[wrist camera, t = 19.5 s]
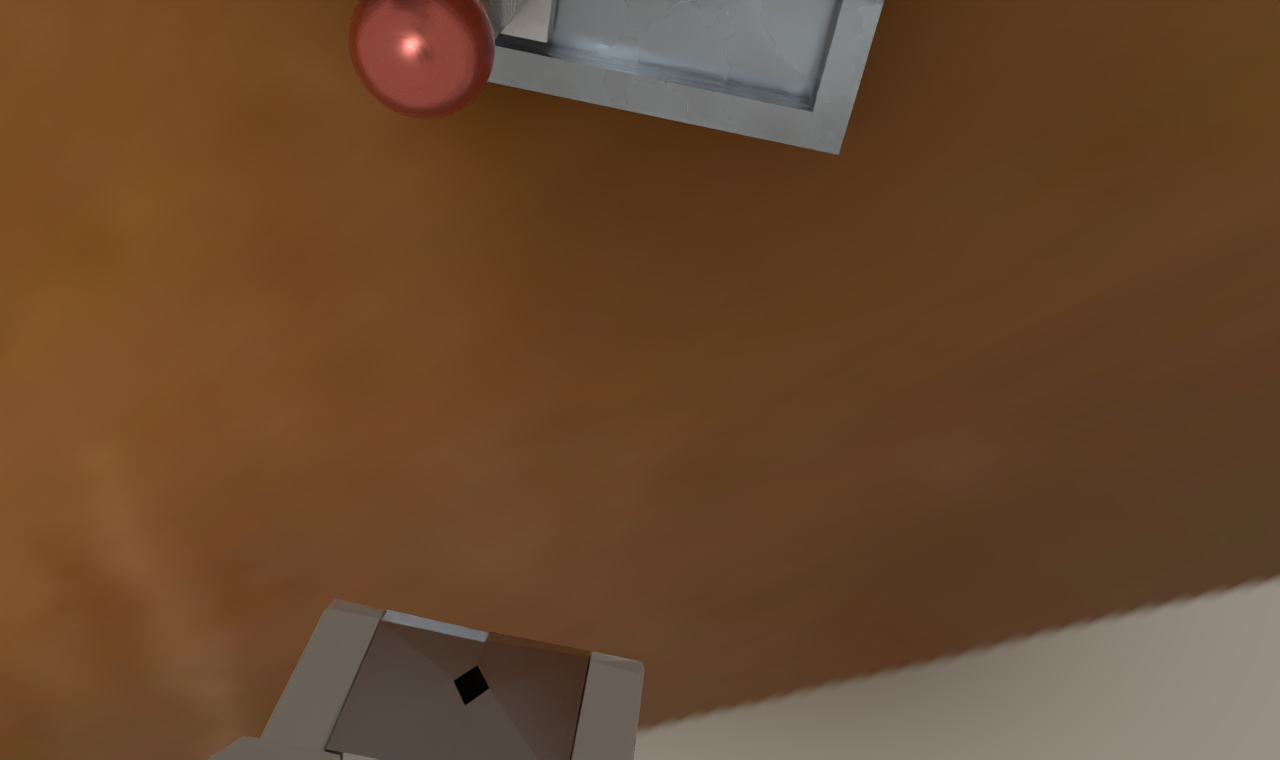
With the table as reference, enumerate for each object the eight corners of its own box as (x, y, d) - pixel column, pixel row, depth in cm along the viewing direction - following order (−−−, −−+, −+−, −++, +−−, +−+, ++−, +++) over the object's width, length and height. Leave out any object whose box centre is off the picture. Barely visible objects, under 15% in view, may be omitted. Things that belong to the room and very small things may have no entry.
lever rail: (393, -155, 33) (366, -147, 31) (885, -51, 33) (894, -36, 31) (384, 35, 36) (360, 54, 34) (834, 129, 36) (838, 155, 34)
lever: (441, -96, 32) (319, -33, 24) (566, -69, 32) (492, 4, 24) (432, 21, 34) (318, 120, 25) (551, 45, 34) (477, 153, 26)
